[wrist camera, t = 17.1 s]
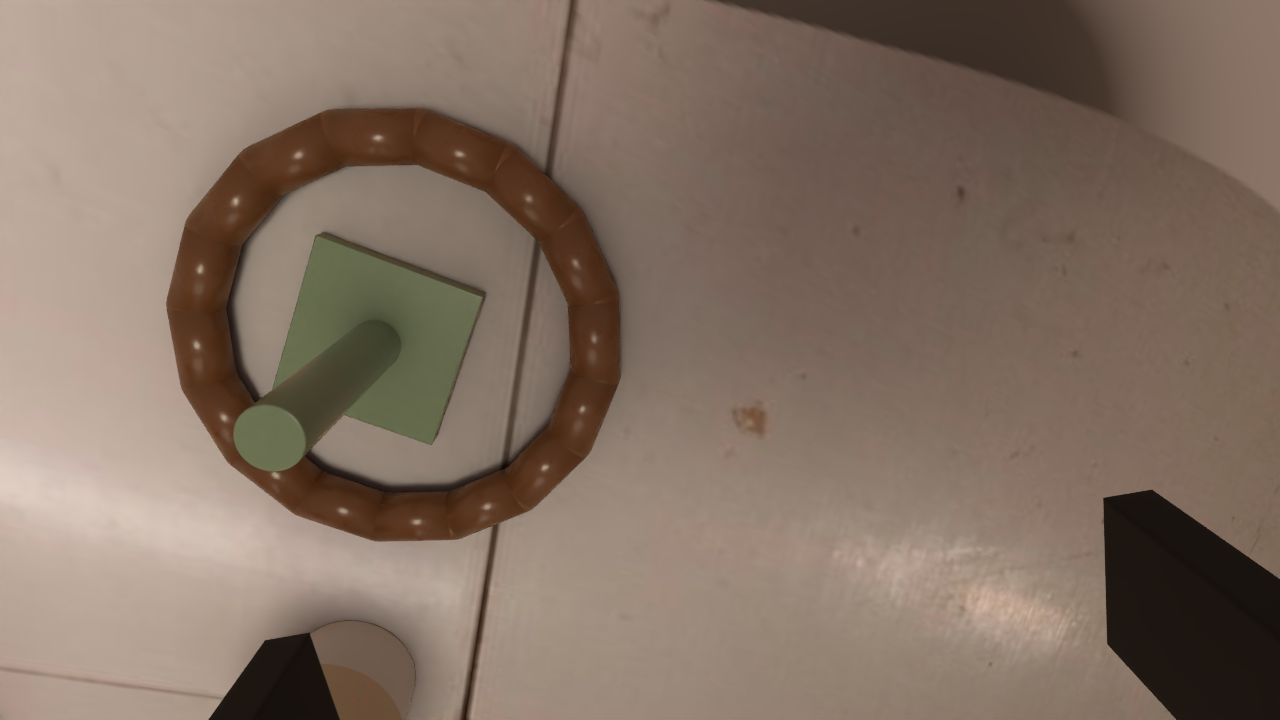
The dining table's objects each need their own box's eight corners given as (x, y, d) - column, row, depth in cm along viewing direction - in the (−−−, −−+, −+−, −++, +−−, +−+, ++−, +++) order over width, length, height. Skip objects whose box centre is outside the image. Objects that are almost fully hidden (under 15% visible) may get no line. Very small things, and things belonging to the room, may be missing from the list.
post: (323, 232, 38) (174, 284, 25) (486, 293, 39) (421, 372, 26) (280, 383, 40) (122, 502, 27) (436, 438, 41) (353, 576, 28)
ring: (247, 34, 35) (220, 28, 33) (685, 211, 38) (689, 217, 35) (145, 446, 40) (116, 466, 38) (536, 577, 43) (531, 603, 41)
